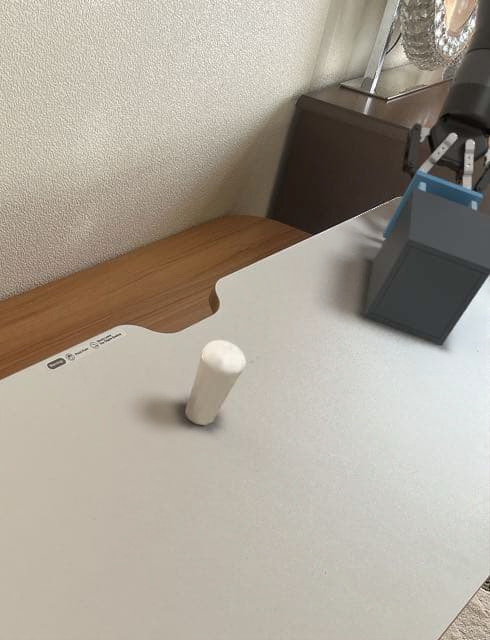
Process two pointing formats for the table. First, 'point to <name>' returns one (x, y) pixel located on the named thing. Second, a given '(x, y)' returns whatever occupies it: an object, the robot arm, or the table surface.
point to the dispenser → (429, 266)
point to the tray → (439, 189)
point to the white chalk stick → (214, 380)
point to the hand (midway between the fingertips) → (429, 212)
